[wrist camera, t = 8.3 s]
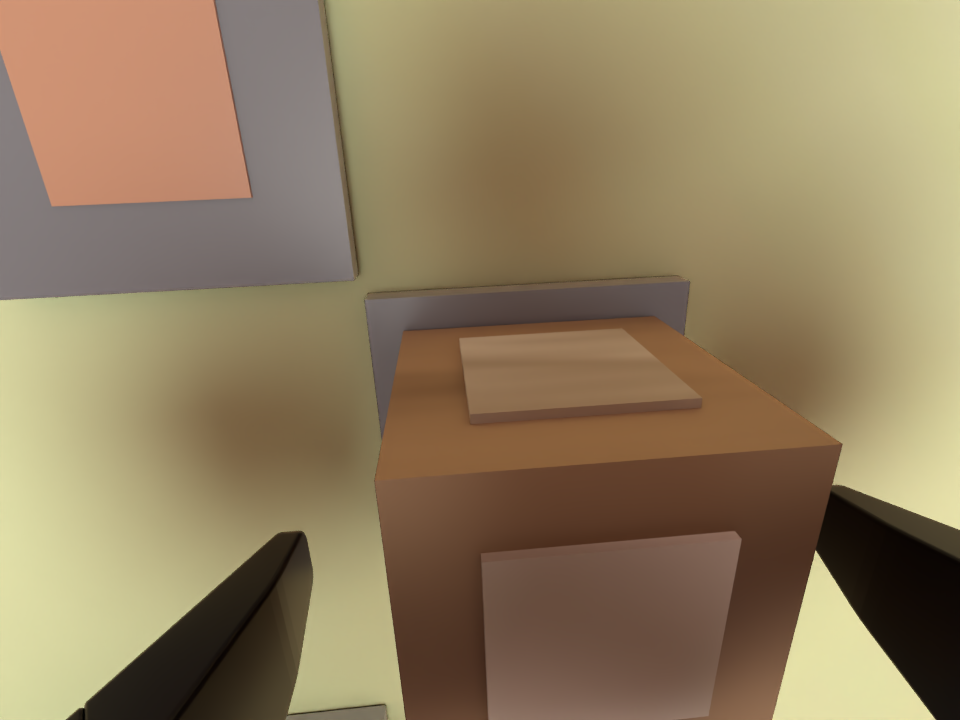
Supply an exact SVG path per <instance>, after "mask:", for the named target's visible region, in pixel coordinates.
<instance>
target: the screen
mask: <svg viewBox="0 0 960 720" xmlns="http://www.w3.org/2000/svg"><path fill="white" fill-rule="evenodd" d="M286 720H388V719H387V712H386V706H385V705H381V706H372V707H363V708H353V709H344V710H335V711H326V712H317V713H307V714H298V715H289V716H287V717H286Z"/></svg>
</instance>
